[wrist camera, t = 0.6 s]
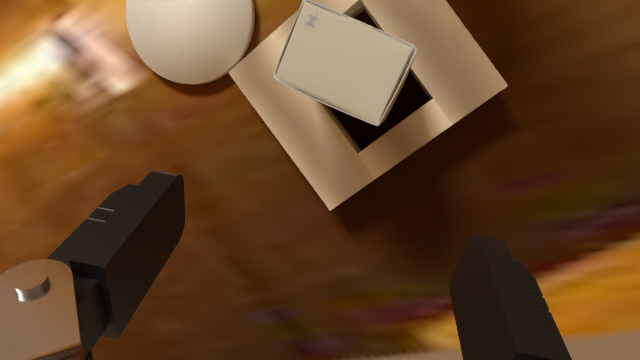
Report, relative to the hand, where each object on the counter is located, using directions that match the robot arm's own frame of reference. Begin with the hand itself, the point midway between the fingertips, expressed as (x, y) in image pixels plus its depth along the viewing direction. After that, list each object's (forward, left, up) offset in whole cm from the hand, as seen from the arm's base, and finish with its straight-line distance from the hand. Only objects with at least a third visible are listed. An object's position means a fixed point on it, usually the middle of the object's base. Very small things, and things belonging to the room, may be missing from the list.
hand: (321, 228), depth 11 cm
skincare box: (-3, -5, -22) cm, 23 cm away
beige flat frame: (-2, -5, -22) cm, 22 cm away
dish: (+6, -18, -22) cm, 29 cm away
